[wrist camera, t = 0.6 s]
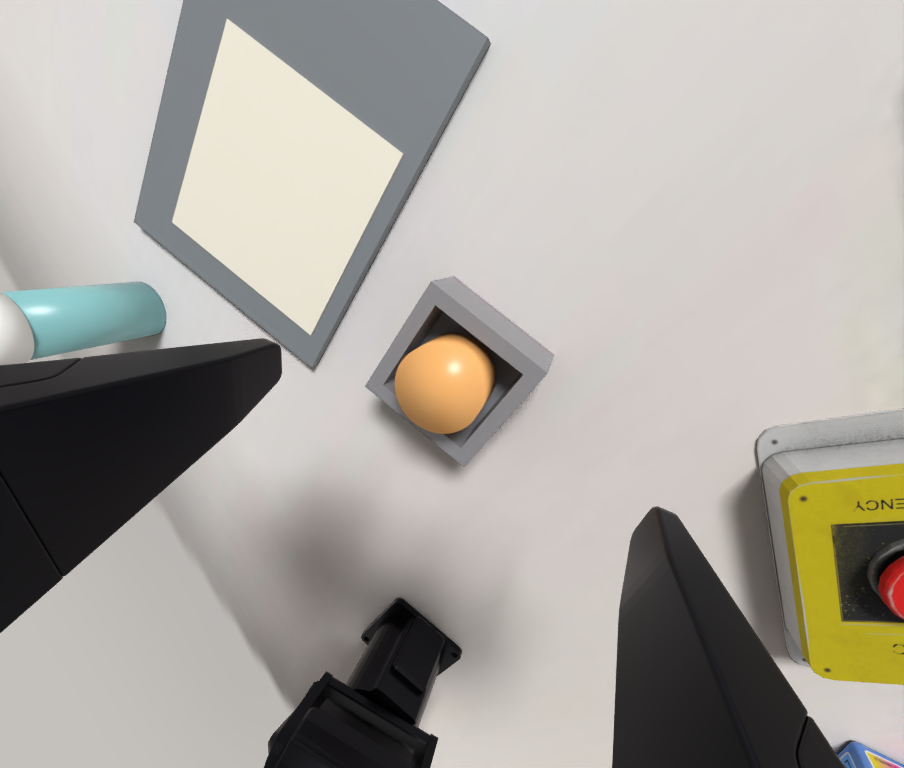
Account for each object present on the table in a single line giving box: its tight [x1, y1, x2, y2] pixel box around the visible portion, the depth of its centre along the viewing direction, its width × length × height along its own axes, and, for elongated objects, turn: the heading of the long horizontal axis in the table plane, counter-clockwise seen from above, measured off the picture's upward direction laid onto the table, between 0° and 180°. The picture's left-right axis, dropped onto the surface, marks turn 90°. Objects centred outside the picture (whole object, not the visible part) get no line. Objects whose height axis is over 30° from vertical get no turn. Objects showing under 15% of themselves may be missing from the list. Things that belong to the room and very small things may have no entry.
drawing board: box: [134, 0, 491, 368], centre depth 23 cm, size 20×16×1 cm
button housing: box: [365, 276, 554, 467], centre depth 22 cm, size 7×7×4 cm
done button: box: [395, 333, 497, 434], centre depth 20 cm, size 4×4×3 cm
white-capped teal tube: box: [0, 282, 166, 365], centre depth 26 cm, size 4×4×10 cm
